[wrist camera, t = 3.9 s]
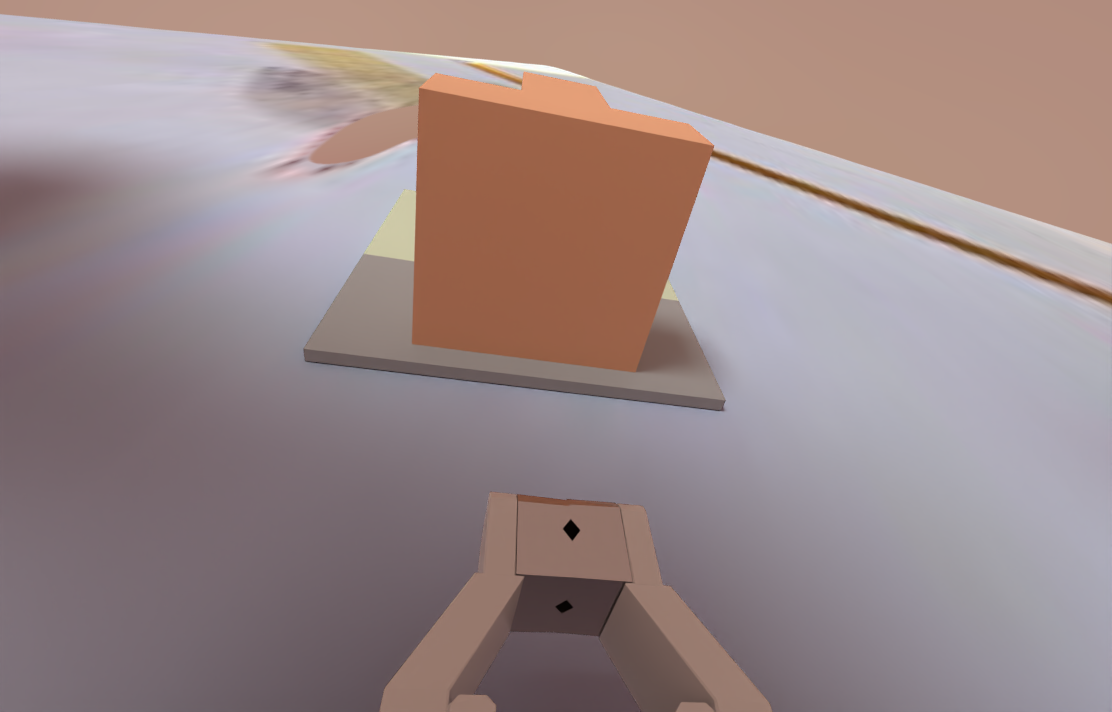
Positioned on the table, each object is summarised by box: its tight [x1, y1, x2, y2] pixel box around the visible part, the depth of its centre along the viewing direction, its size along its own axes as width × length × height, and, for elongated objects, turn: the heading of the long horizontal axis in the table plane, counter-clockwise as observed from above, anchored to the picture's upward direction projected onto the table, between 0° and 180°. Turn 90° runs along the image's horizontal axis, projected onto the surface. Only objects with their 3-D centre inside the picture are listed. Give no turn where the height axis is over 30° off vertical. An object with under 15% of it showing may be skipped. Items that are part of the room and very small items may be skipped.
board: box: [304, 189, 726, 410], centre depth 30 cm, size 18×20×1 cm
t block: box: [412, 72, 714, 372], centre depth 23 cm, size 10×9×10 cm
